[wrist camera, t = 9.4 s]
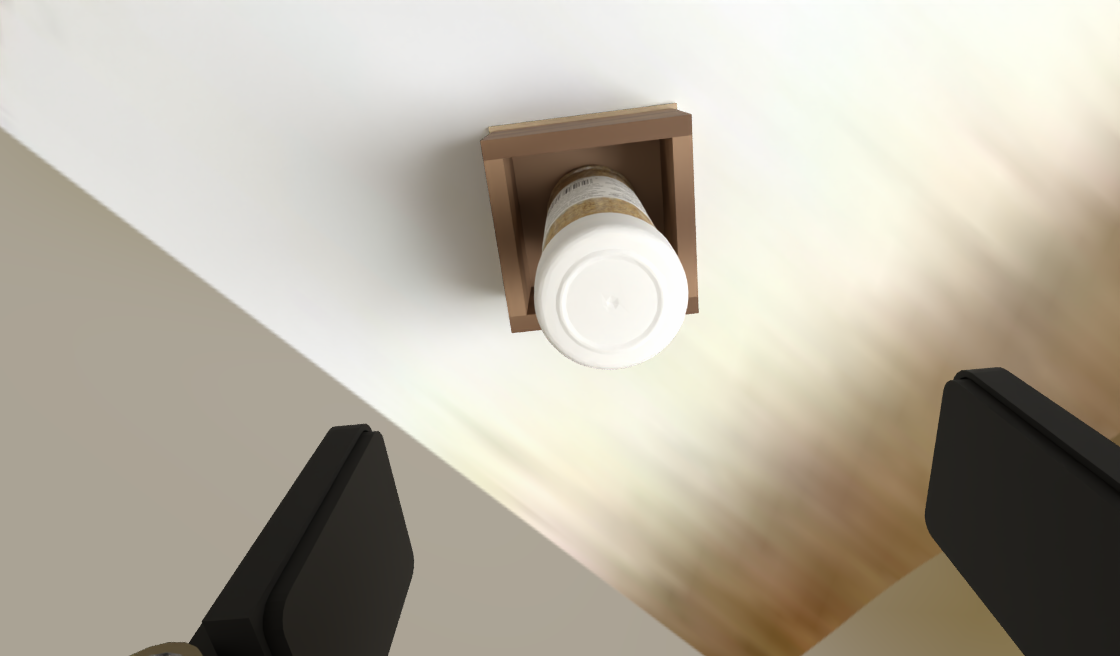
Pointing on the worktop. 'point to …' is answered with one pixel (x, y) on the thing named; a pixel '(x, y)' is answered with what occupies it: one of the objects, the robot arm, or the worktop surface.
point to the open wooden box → (567, 144)
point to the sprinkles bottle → (606, 274)
